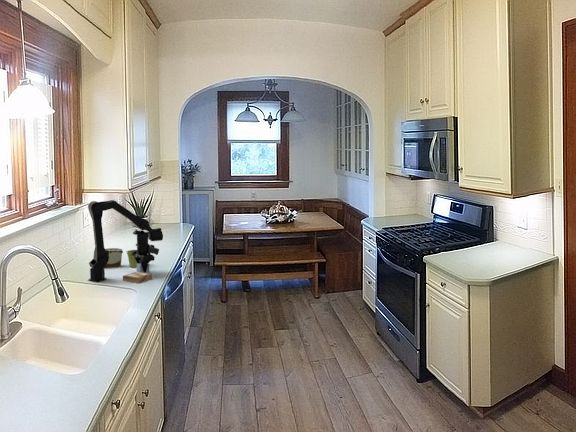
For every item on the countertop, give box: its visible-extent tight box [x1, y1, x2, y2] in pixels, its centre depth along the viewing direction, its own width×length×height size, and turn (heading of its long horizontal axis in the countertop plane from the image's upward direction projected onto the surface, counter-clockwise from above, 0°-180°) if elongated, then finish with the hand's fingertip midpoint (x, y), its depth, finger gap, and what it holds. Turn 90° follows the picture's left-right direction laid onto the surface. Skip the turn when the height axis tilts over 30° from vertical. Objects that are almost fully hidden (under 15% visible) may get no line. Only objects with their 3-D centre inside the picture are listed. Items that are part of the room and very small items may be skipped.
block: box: [136, 263, 150, 274], centre depth 269 cm, size 5×5×5 cm
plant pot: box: [125, 249, 137, 268], centre depth 286 cm, size 9×9×9 cm
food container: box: [104, 247, 124, 269], centre depth 284 cm, size 12×6×10 cm, turn 115°
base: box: [122, 271, 153, 284], centre depth 258 cm, size 10×10×3 cm
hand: (143, 271), depth 269 cm, fingers closed on block, 5 cm apart
